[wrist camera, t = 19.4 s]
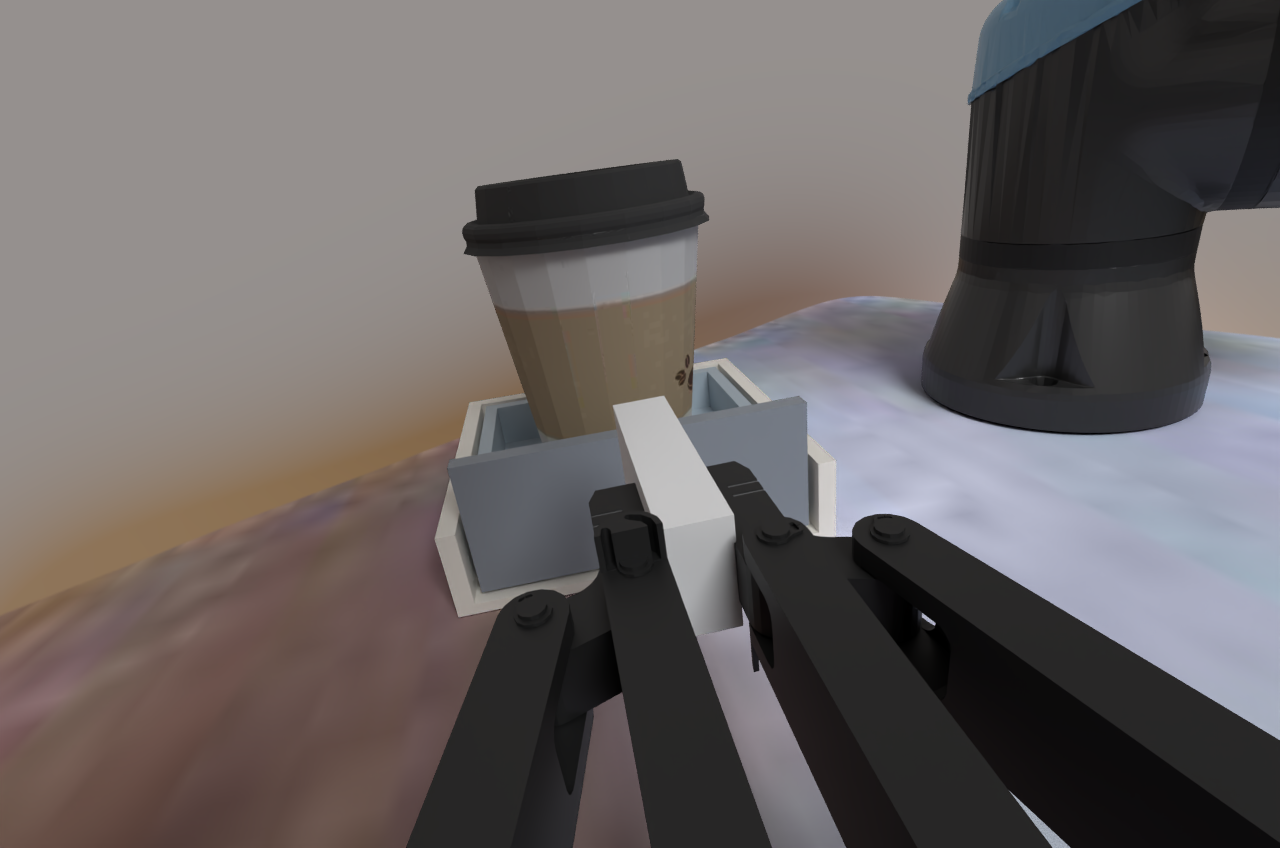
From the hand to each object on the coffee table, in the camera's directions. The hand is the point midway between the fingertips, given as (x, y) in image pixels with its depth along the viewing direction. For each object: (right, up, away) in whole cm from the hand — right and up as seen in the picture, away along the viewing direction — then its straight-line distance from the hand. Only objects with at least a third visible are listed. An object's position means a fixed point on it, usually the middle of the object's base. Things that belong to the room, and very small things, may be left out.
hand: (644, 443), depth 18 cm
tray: (-1, -3, +16) cm, 17 cm away
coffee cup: (-1, -2, +16) cm, 16 cm away
